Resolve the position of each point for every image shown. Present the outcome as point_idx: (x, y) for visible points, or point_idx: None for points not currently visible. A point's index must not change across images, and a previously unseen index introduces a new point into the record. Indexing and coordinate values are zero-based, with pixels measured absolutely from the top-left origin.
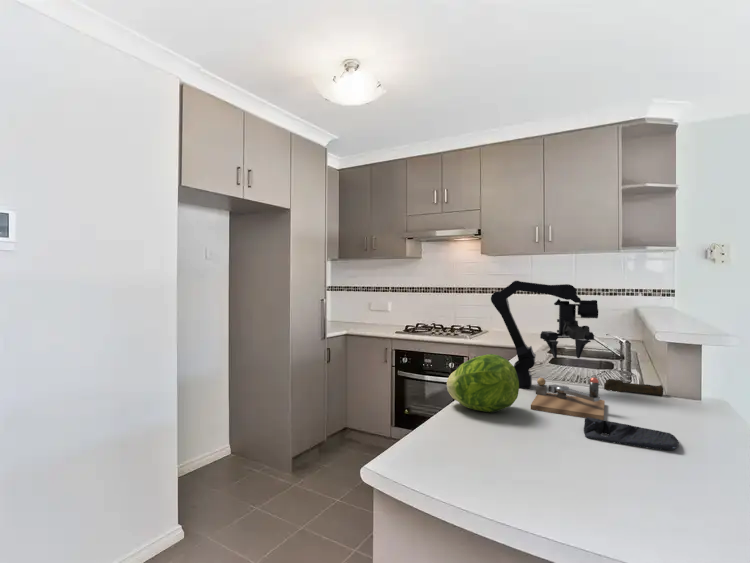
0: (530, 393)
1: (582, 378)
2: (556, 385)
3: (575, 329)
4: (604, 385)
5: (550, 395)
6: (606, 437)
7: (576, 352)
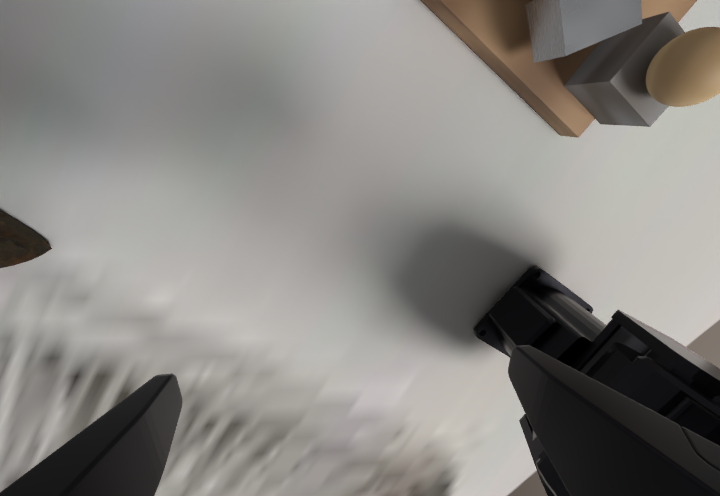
0: (574, 187)
1: None
2: (583, 7)
3: None
4: (32, 255)
5: None
6: None
7: (149, 489)
